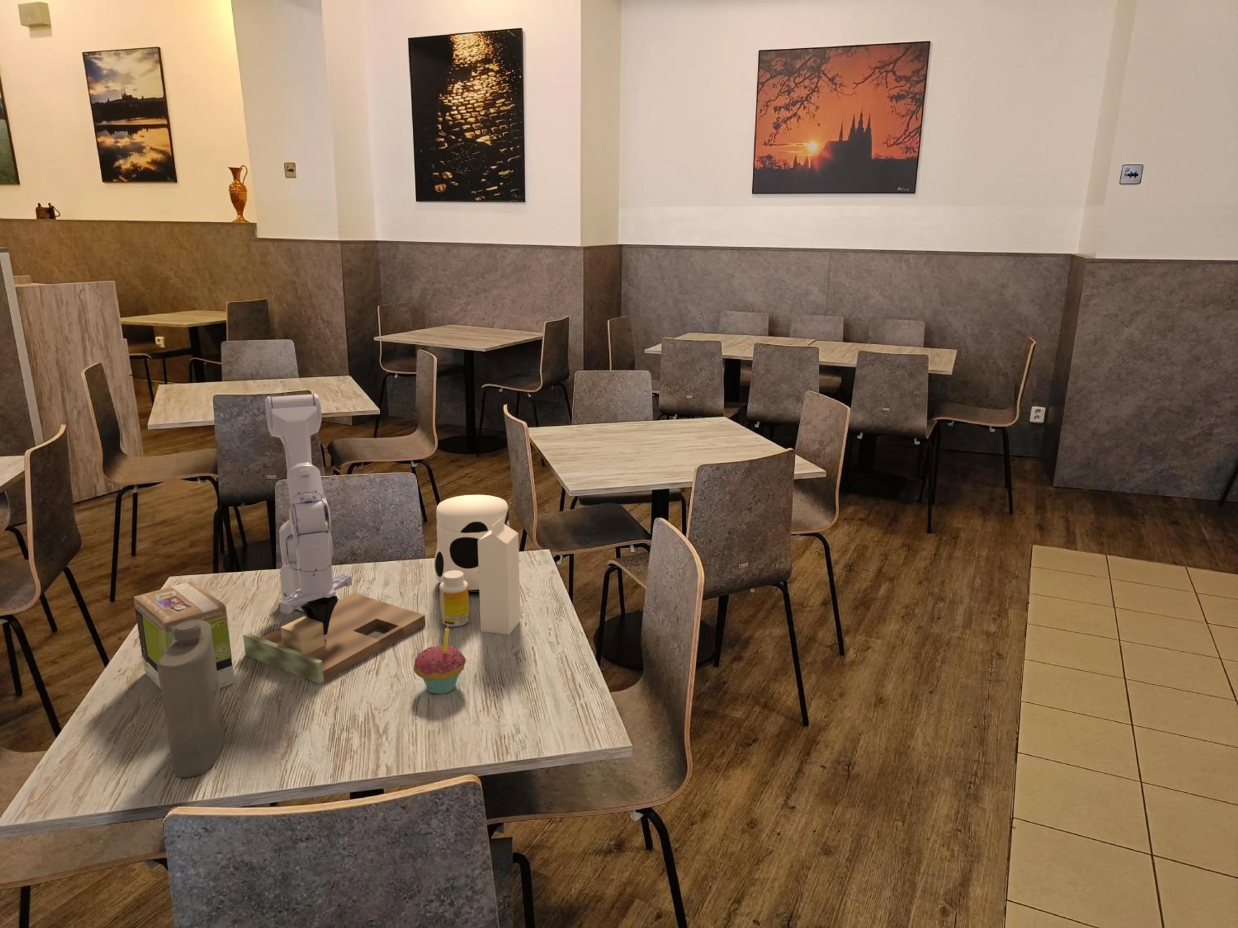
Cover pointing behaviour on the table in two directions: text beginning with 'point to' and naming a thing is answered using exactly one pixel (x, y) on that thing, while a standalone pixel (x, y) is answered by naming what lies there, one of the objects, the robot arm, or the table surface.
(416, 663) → the cupcake
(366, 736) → the table surface
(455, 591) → the supplement bottle
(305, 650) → the block
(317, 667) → the wooden board with holes
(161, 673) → the flask
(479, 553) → the milk
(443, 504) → the milk container
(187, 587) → the tea box
